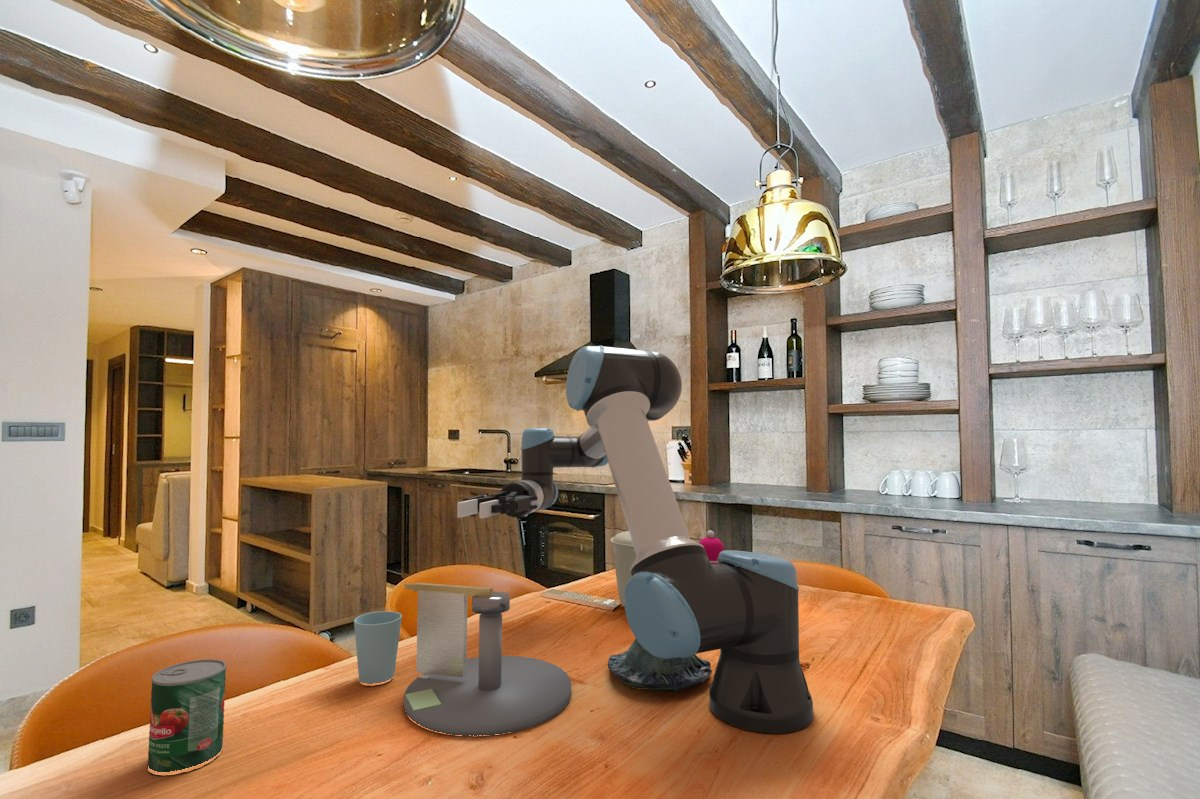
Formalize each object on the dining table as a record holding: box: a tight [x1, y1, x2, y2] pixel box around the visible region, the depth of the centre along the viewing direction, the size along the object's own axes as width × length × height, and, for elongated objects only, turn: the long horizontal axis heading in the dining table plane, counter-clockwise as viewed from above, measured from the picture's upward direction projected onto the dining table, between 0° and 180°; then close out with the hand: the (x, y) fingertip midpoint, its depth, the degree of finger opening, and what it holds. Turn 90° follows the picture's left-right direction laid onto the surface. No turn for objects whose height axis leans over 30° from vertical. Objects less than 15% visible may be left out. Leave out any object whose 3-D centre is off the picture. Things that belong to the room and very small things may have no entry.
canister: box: [609, 530, 636, 608], centre depth 141 cm, size 18×18×21 cm
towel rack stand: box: [404, 582, 511, 678], centre depth 94 cm, size 19×6×14 cm, turn 75°
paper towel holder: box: [403, 613, 572, 736], centre depth 92 cm, size 26×26×12 cm
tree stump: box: [607, 637, 713, 693], centre depth 99 cm, size 18×20×18 cm
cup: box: [353, 610, 403, 684], centre depth 98 cm, size 8×8×10 cm
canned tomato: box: [147, 658, 227, 772], centre depth 74 cm, size 8×8×11 cm
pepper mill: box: [698, 529, 725, 565], centre depth 132 cm, size 7×7×20 cm
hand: (470, 510), depth 104 cm, fingers open, 4 cm apart
